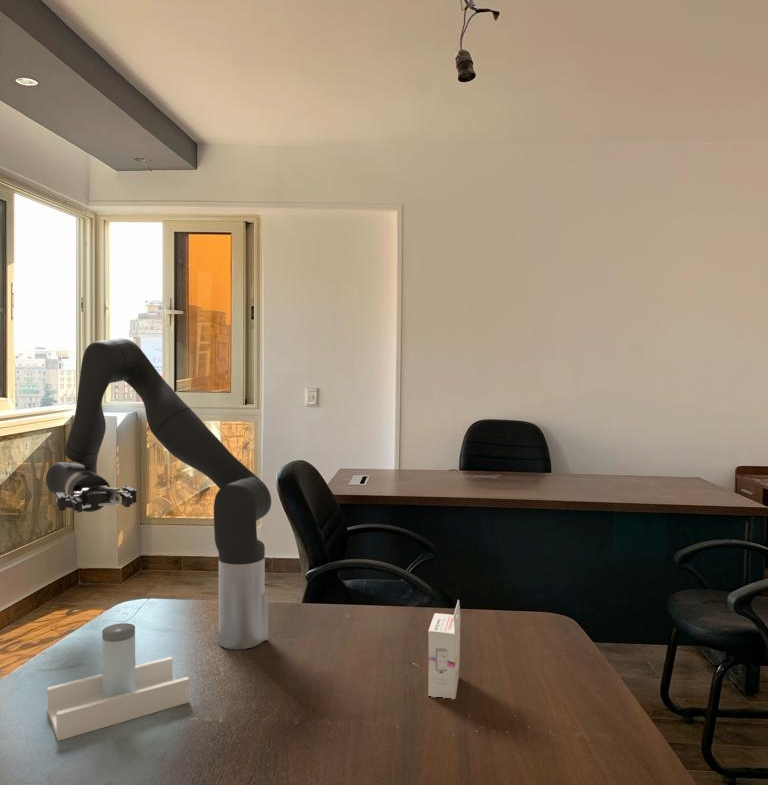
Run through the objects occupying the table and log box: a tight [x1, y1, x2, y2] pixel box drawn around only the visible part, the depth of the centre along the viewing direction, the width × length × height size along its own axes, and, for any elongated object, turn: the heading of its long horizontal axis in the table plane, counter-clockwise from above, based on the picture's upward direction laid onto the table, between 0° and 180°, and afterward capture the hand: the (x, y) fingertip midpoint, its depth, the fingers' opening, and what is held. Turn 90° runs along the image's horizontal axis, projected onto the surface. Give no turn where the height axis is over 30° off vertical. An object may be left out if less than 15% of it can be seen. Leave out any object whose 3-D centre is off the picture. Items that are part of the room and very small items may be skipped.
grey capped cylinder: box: [101, 622, 136, 699], centre depth 107 cm, size 5×5×12 cm
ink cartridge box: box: [427, 599, 461, 700], centre depth 115 cm, size 9×5×15 cm, turn 169°
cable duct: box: [46, 656, 190, 742], centre depth 107 cm, size 20×10×4 cm, turn 126°
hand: (104, 504), depth 122 cm, fingers open, 8 cm apart
